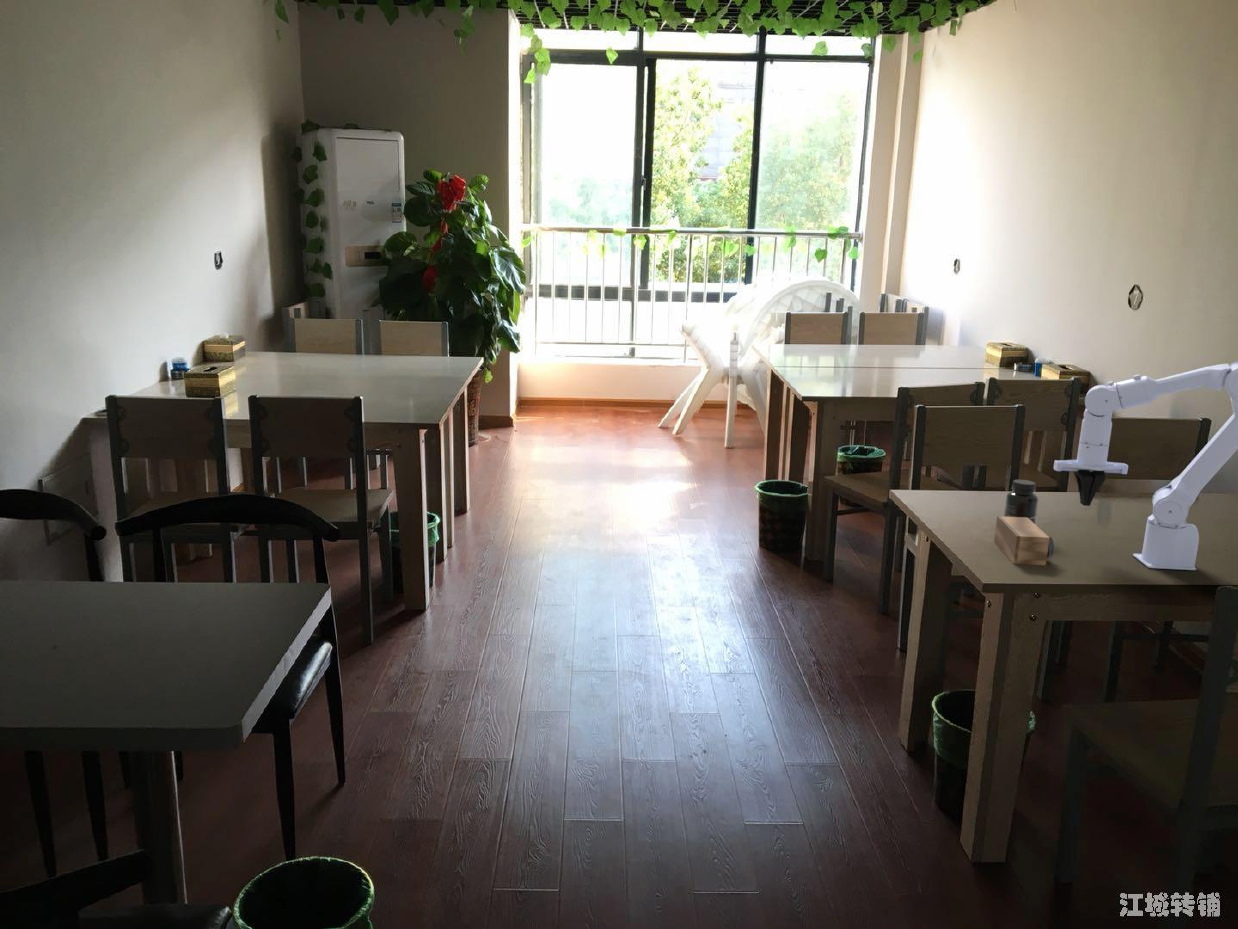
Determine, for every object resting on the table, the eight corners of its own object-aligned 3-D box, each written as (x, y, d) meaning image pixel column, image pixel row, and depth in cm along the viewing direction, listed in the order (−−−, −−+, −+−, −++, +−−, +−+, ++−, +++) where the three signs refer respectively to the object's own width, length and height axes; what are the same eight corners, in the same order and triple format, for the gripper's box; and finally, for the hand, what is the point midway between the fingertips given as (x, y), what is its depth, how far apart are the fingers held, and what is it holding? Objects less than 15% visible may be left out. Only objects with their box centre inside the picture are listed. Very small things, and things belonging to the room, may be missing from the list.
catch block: (1024, 543, 217) (1027, 517, 216) (1045, 565, 204) (1049, 537, 202) (994, 542, 218) (997, 516, 216) (1013, 563, 204) (1017, 536, 203)
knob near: (1044, 553, 209) (1047, 533, 208) (1051, 561, 204) (1054, 540, 203) (1011, 552, 209) (1014, 531, 208) (1018, 559, 205) (1020, 538, 204)
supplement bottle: (1036, 538, 221) (1043, 487, 218) (1004, 536, 222) (1011, 484, 219) (1030, 529, 228) (1037, 479, 225) (999, 526, 229) (1005, 477, 226)
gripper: (1065, 445, 204) (1056, 508, 208) (1137, 448, 203) (1127, 511, 207) (1053, 438, 211) (1045, 498, 215) (1123, 440, 210) (1114, 502, 214)
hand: (1085, 504), depth 211 cm, fingers closed
